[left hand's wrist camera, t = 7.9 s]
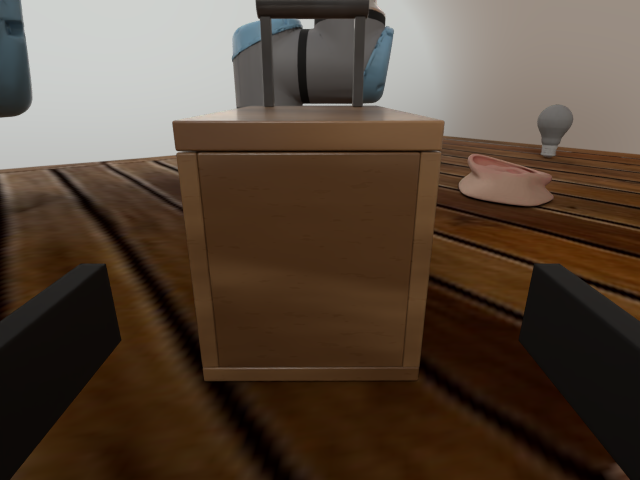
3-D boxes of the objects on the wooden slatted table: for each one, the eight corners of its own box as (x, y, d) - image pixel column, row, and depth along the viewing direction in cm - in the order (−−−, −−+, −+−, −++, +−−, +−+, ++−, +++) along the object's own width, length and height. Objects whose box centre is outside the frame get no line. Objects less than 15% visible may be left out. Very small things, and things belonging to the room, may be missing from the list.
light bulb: (537, 159, 78) (547, 105, 74) (526, 154, 84) (535, 104, 80) (570, 159, 77) (582, 105, 74) (557, 155, 83) (567, 104, 79)
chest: (256, 248, 34) (249, 121, 30) (372, 248, 34) (378, 121, 30) (203, 382, 18) (175, 152, 15) (418, 381, 18) (442, 152, 15)
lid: (251, 120, 31) (243, -4, 28) (376, 120, 31) (382, -4, 28) (175, 151, 15) (138, -141, 12) (442, 151, 15) (472, -141, 12)
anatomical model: (565, 174, 43) (454, 166, 47) (557, 210, 44) (450, 199, 49) (554, 157, 54) (465, 152, 59) (548, 186, 56) (461, 179, 60)
